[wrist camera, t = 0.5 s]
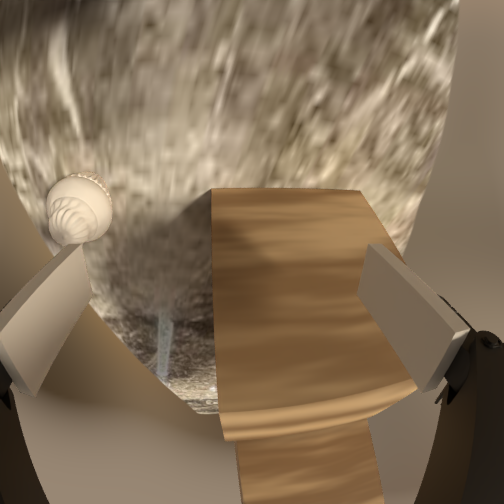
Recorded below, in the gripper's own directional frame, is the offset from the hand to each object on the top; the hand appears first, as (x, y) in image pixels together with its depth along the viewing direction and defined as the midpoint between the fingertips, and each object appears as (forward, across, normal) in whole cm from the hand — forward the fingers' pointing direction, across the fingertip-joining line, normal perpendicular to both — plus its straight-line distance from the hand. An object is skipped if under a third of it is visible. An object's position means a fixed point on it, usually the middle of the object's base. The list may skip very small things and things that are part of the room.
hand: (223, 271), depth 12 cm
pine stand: (+19, +6, -12) cm, 23 cm away
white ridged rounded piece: (+13, -12, +2) cm, 18 cm away
